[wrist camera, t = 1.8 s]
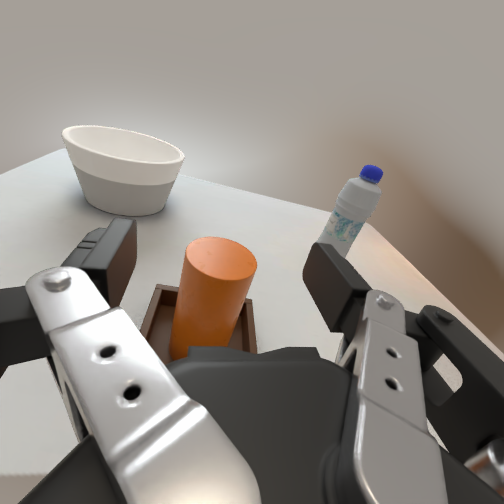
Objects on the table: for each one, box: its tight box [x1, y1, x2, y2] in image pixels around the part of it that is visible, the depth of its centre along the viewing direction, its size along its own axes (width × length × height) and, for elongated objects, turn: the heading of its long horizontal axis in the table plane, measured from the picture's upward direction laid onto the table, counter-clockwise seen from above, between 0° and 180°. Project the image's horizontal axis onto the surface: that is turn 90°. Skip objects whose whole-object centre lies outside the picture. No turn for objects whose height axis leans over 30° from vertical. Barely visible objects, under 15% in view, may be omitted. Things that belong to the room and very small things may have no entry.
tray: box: [140, 284, 257, 365], centre depth 27 cm, size 12×12×3 cm
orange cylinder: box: [169, 237, 257, 361], centre depth 24 cm, size 6×6×12 cm
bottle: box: [317, 165, 383, 258], centre depth 47 cm, size 7×7×20 cm
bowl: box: [62, 125, 185, 216], centre depth 47 cm, size 19×19×11 cm
